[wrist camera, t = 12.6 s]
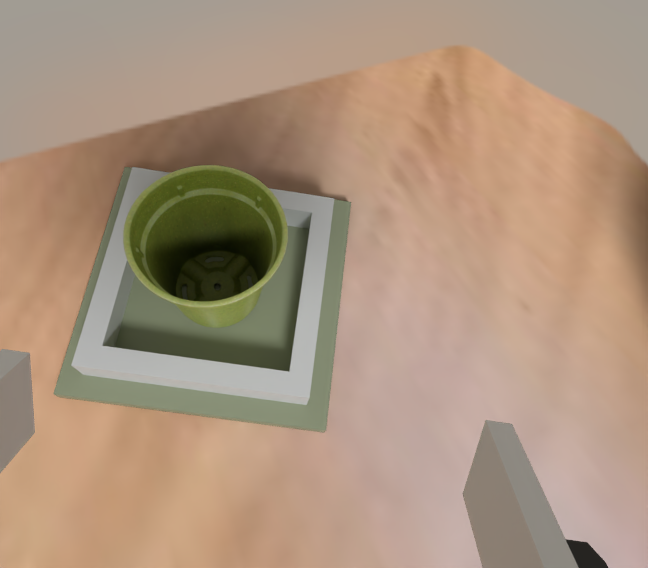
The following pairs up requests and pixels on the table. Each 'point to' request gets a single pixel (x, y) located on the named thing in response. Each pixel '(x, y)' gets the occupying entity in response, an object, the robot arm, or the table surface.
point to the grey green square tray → (215, 343)
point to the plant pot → (206, 241)
